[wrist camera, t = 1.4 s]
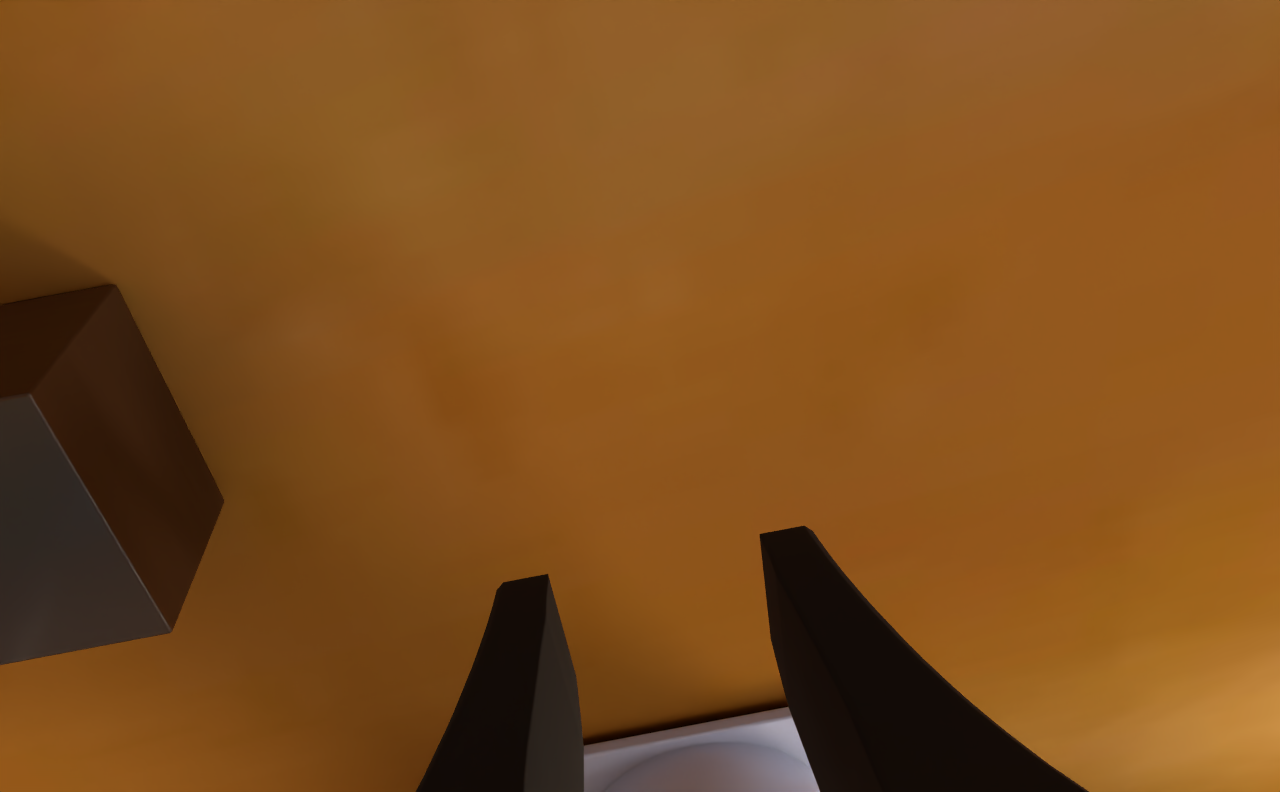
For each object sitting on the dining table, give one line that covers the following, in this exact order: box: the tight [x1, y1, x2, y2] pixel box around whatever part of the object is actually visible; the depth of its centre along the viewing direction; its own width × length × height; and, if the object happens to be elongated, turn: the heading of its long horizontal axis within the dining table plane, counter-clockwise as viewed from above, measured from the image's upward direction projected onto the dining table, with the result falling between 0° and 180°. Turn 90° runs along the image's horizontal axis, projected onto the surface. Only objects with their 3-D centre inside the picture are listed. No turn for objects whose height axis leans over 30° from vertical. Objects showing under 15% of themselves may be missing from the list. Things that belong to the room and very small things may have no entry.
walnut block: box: [0, 284, 224, 665], centre depth 18 cm, size 6×6×4 cm
